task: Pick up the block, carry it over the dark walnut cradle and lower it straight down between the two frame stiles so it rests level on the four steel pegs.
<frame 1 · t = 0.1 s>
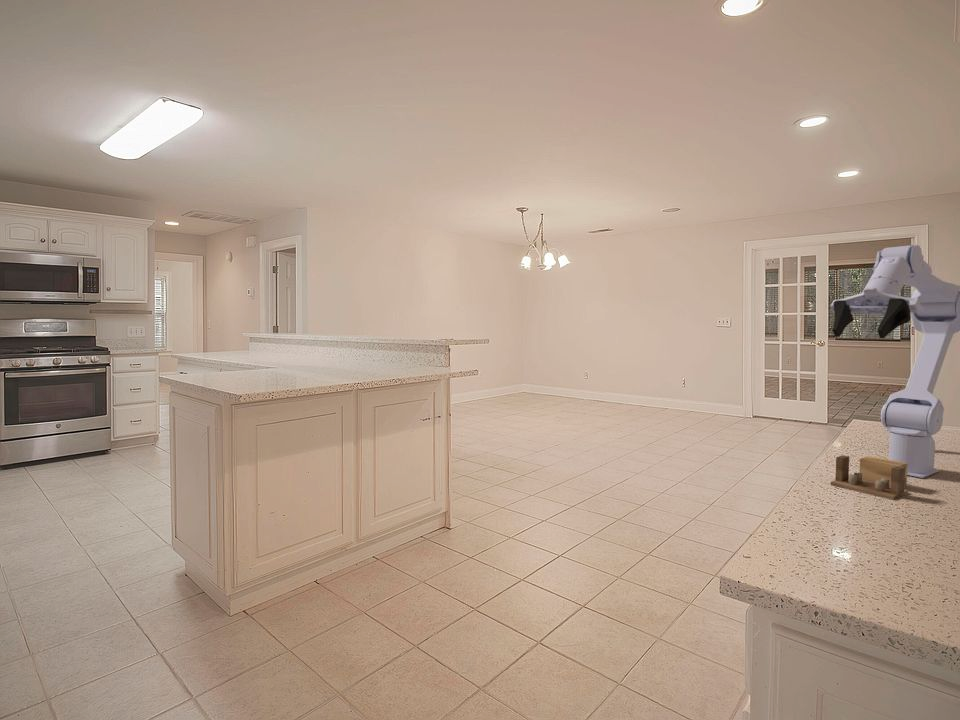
hand: (857, 333, 102), 32 cm above the counter, tool tilted 50°, fingers open, 7 cm apart
block: (882, 484, 111), on the counter
cradle: (868, 488, 107), on the counter
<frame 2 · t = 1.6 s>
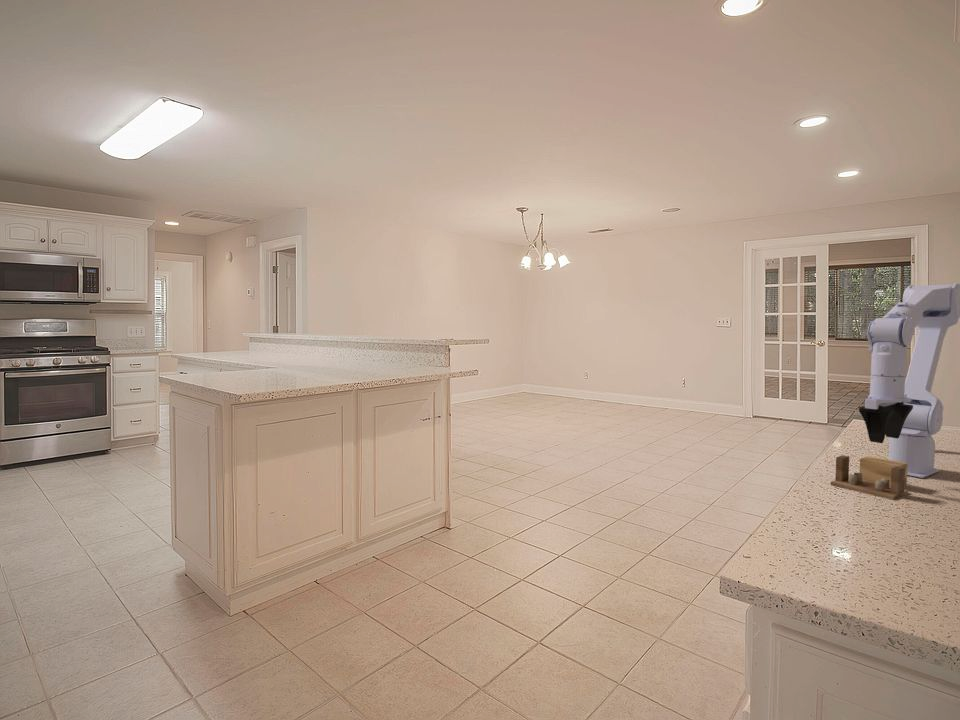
hand: (884, 439, 110), 9 cm above the counter, tool pointing down, fingers open, 7 cm apart
nothing on the counter moved.
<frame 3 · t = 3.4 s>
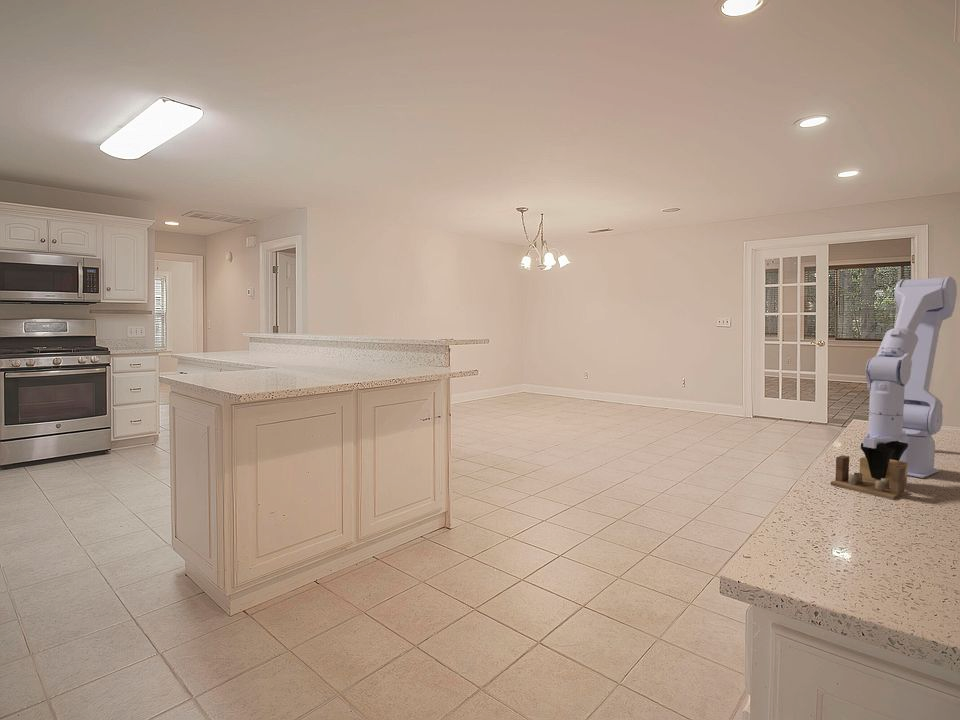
hand: (882, 476, 111), 1 cm above the counter, tool pointing down, fingers closed on block, 4 cm apart
block: (882, 483, 111), on the counter, touching gripper
everything else where it was.
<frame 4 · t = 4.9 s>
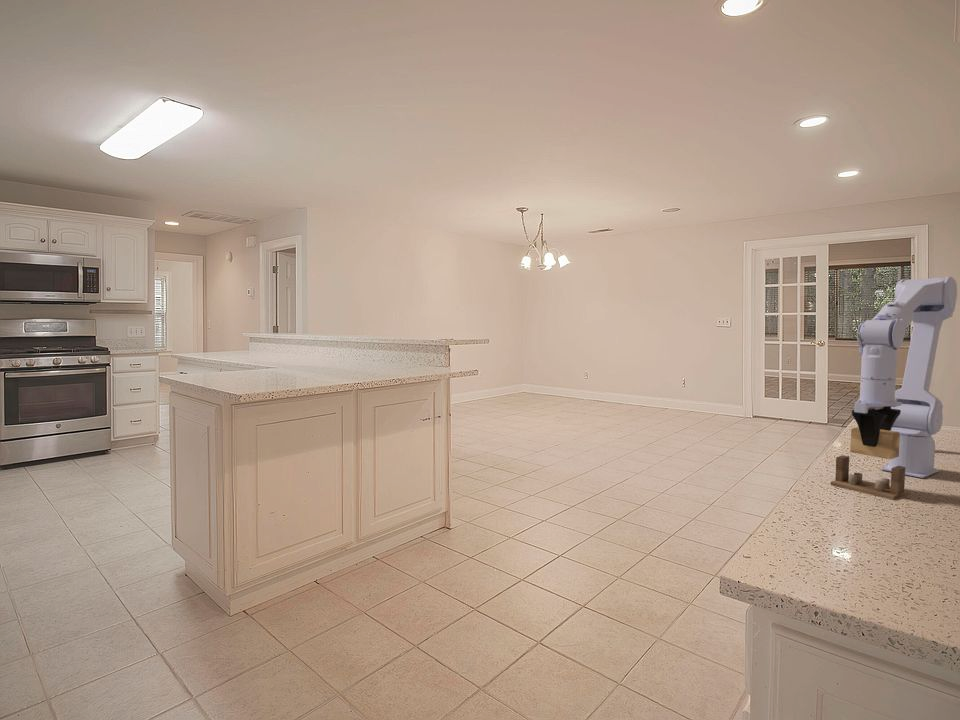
hand: (874, 444, 108), 9 cm above the counter, tool pointing down, fingers closed on block, 4 cm apart
block: (874, 454, 108), point 7 cm above the counter, touching gripper
everything else where it was.
when the fingers open (5 cm above the counter, at t = 6.7 s): block stays where it is, resting on cradle.
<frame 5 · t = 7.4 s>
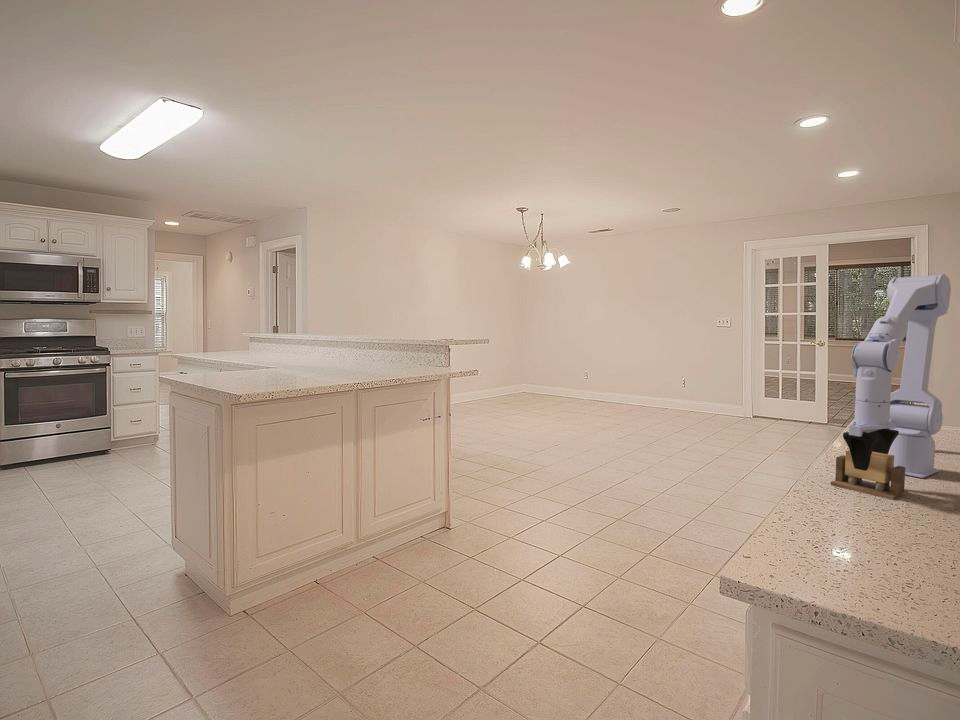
hand: (869, 466, 107), 5 cm above the counter, tool pointing down, fingers open, 7 cm apart
block: (868, 477, 107), point 2 cm above the counter, touching cradle
everything else where it was.
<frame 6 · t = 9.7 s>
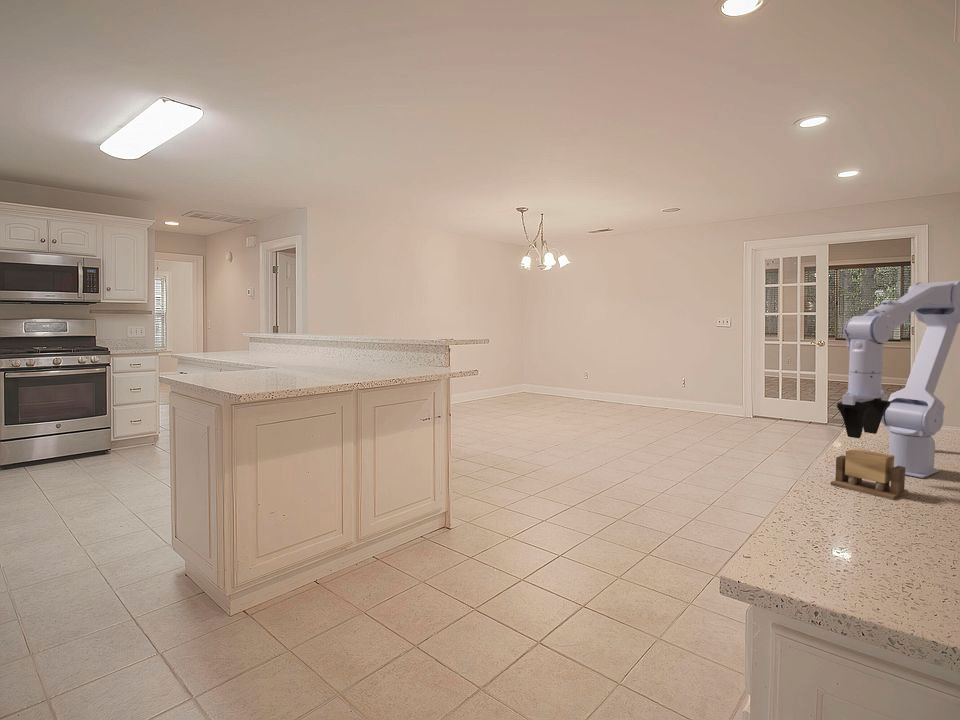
hand: (862, 435, 112), 10 cm above the counter, tool pointing down, fingers open, 7 cm apart
nothing on the counter moved.
at the end: block 0.1 cm off-centre on the cradle, point 2.4 cm above the cradle's base; block tilted 0°; the gripper is holding nothing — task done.
